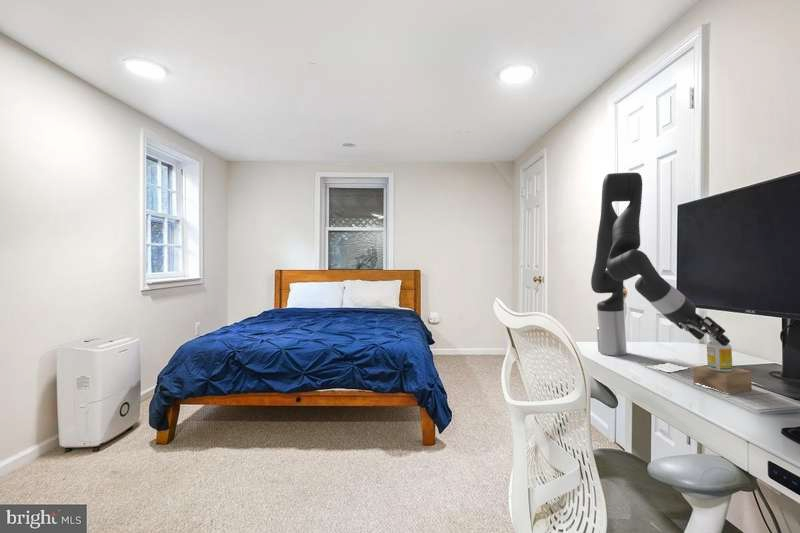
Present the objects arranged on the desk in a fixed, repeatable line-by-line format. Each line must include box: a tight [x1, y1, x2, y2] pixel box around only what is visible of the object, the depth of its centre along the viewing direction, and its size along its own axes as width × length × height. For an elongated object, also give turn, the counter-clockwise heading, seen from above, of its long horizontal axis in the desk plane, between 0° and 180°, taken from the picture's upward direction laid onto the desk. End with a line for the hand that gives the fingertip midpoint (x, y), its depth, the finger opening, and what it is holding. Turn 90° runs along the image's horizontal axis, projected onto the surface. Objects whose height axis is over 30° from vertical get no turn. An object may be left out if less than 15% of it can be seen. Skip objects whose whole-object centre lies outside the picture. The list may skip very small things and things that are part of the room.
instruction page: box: [645, 365, 657, 371], centre depth 124 cm, size 8×10×1 cm
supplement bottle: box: [706, 334, 733, 372], centre depth 105 cm, size 5×5×10 cm
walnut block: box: [692, 364, 753, 394], centre depth 105 cm, size 9×9×5 cm
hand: (713, 340), depth 105 cm, fingers open, 8 cm apart
